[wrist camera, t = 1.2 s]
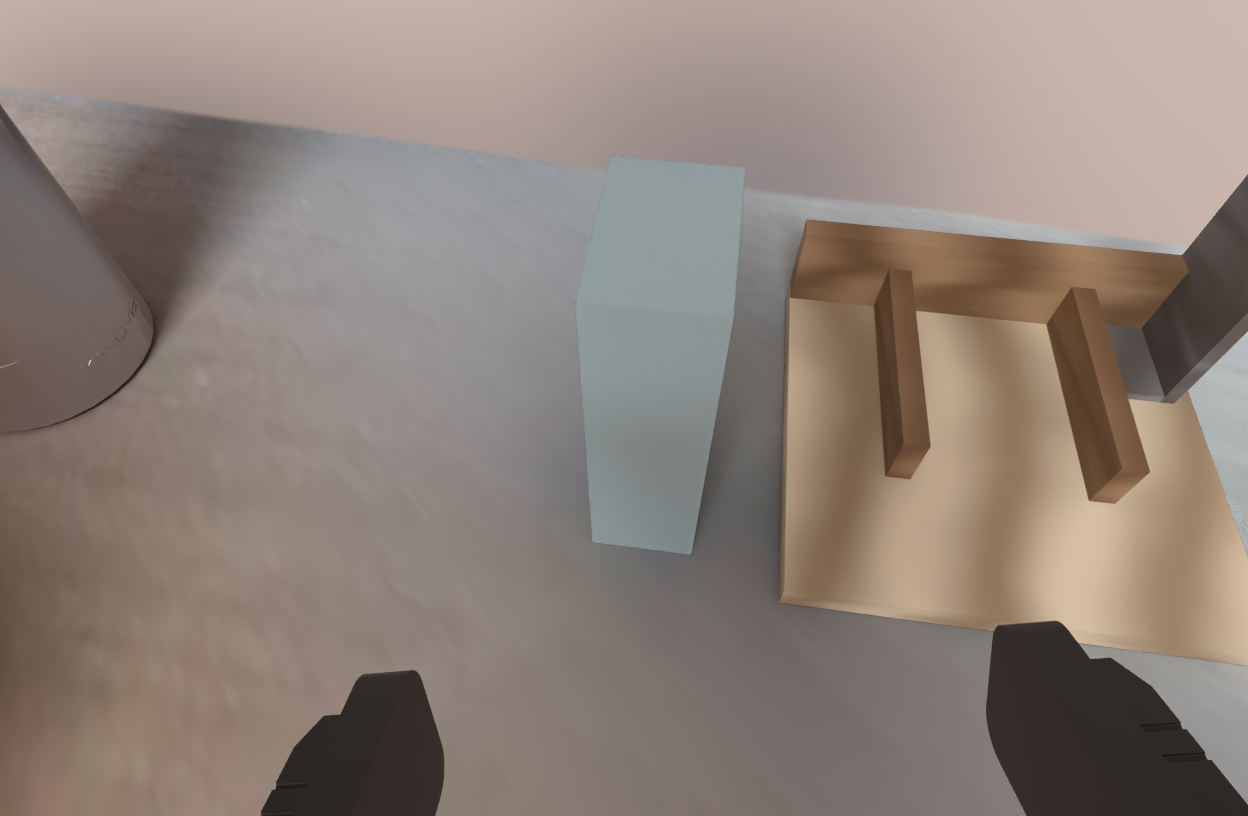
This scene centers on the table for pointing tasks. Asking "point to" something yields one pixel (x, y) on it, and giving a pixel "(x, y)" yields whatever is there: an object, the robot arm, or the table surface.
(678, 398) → the pale blue rectangular block
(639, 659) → the table surface
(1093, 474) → the wooden holder stand
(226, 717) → the table surface
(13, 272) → the robot arm
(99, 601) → the table surface
